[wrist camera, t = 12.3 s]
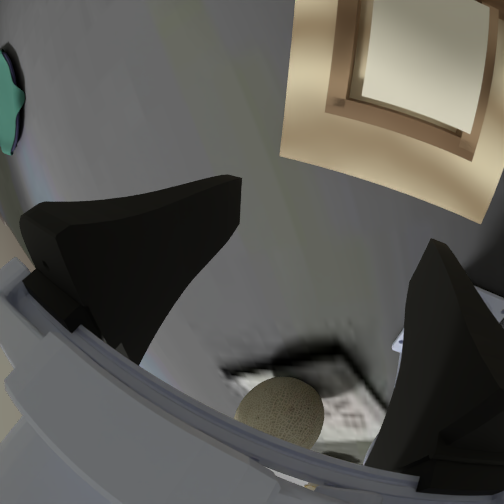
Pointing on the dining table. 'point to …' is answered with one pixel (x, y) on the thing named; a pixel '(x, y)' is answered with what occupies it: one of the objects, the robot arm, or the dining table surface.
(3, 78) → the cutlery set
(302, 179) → the dining table surface
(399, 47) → the cabinet block
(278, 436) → the fruit
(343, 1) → the board
